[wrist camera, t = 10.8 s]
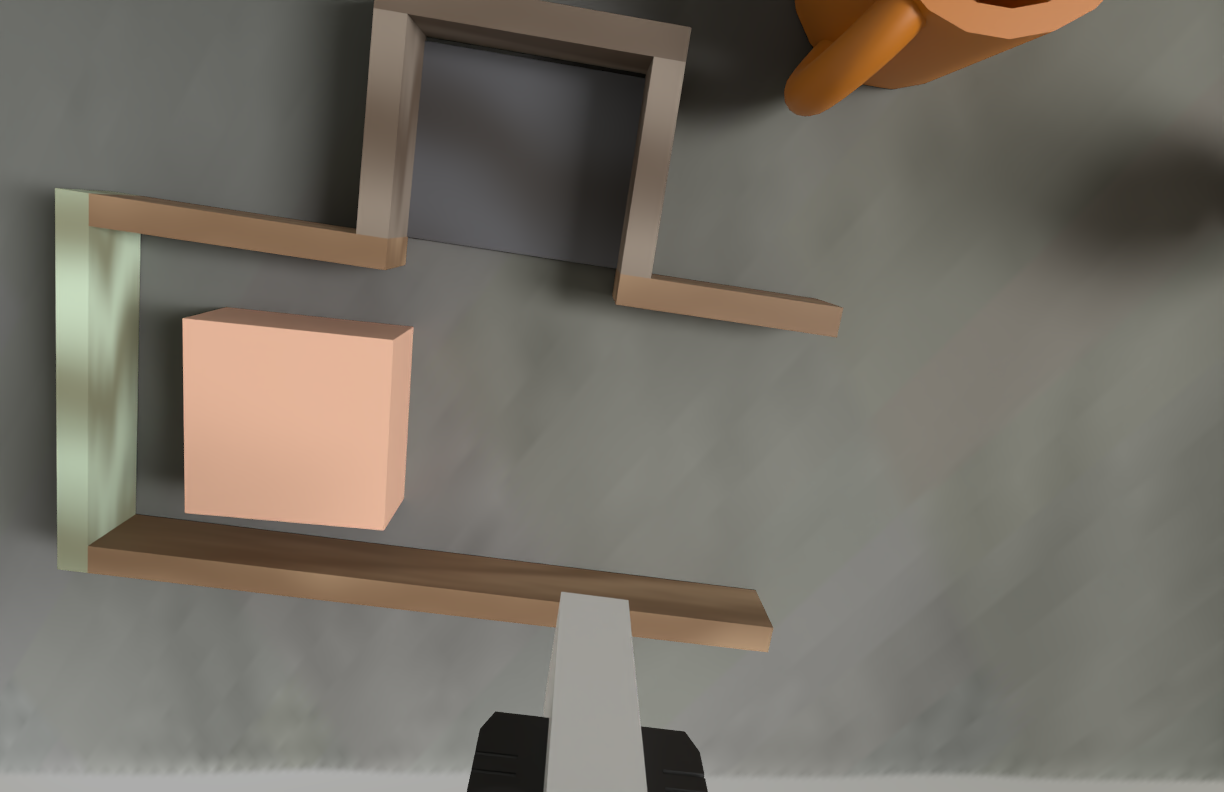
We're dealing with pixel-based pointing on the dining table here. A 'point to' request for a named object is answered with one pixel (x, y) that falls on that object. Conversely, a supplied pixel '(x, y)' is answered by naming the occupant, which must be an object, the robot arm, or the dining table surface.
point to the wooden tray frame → (387, 215)
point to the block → (295, 417)
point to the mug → (909, 41)
